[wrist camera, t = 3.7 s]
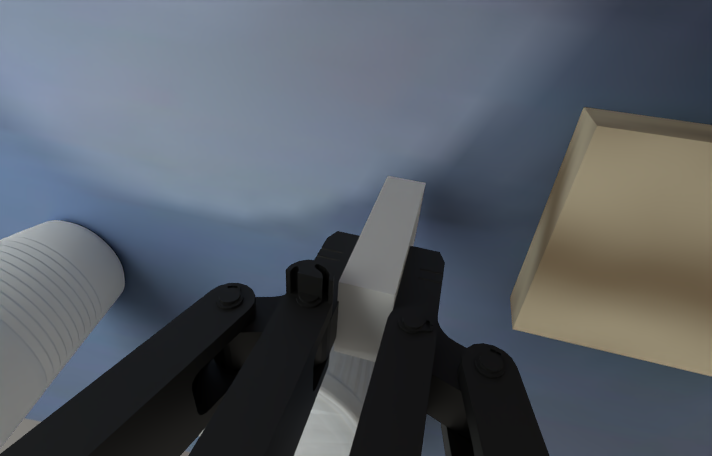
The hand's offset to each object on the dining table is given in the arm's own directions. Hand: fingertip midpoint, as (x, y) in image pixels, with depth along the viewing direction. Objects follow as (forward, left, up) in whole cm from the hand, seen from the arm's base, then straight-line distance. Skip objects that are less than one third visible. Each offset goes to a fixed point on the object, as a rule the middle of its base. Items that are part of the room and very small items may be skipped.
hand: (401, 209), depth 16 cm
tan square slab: (0, +9, -2) cm, 10 cm away
